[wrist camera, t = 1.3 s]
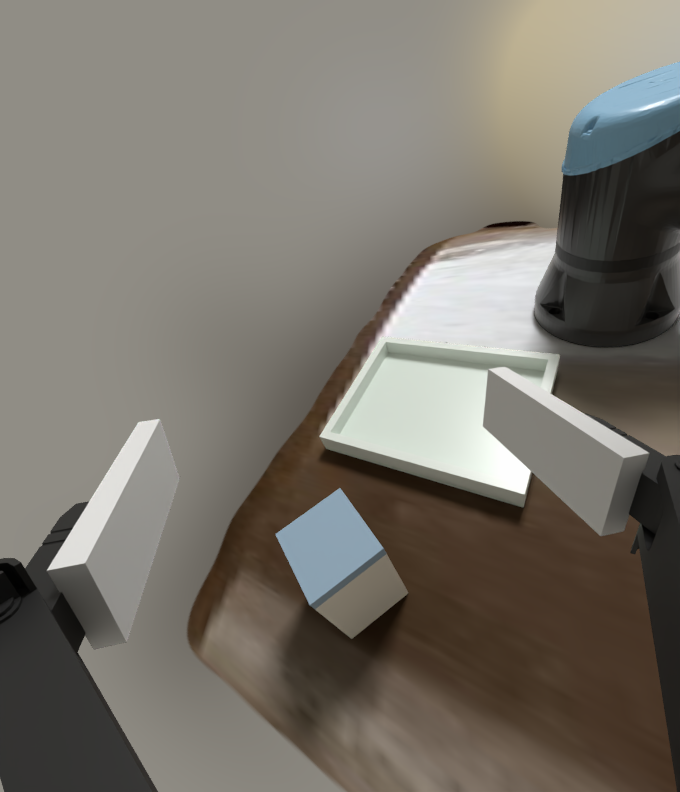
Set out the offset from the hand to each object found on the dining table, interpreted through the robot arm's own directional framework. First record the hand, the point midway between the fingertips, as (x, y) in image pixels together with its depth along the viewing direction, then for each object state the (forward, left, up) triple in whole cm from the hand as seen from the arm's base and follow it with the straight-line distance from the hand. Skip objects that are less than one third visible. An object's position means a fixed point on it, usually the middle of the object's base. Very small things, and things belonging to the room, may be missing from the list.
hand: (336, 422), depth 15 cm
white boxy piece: (+1, -5, -24) cm, 25 cm away
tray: (-20, -5, -24) cm, 32 cm away
